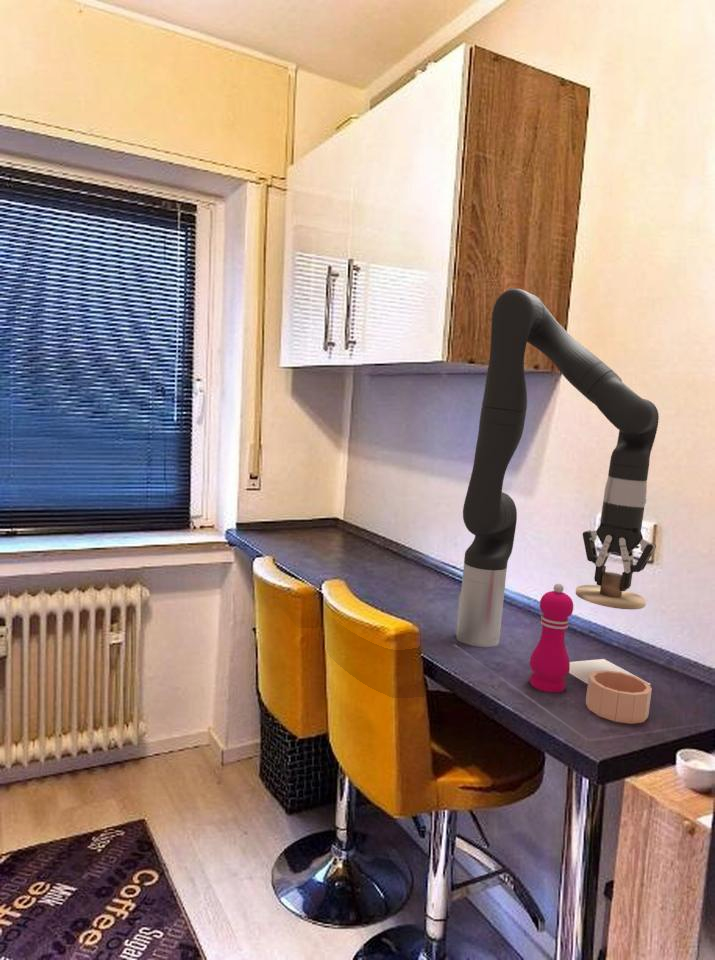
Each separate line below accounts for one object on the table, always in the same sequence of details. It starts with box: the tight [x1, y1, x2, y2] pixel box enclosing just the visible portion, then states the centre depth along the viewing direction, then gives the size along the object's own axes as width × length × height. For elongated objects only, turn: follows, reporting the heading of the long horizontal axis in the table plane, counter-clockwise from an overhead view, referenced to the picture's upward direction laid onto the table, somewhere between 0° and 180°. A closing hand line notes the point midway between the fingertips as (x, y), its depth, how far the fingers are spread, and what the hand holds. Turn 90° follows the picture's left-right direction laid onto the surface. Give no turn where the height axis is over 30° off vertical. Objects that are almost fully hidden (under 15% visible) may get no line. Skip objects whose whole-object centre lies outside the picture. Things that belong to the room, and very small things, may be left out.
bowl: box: [585, 670, 653, 725], centre depth 120 cm, size 10×10×6 cm
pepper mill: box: [529, 583, 574, 693], centre depth 127 cm, size 7×7×20 cm
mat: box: [568, 658, 652, 686], centre depth 136 cm, size 13×13×1 cm
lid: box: [575, 571, 647, 610], centre depth 134 cm, size 13×13×5 cm
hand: (611, 587), depth 134 cm, fingers closed on lid, 4 cm apart
